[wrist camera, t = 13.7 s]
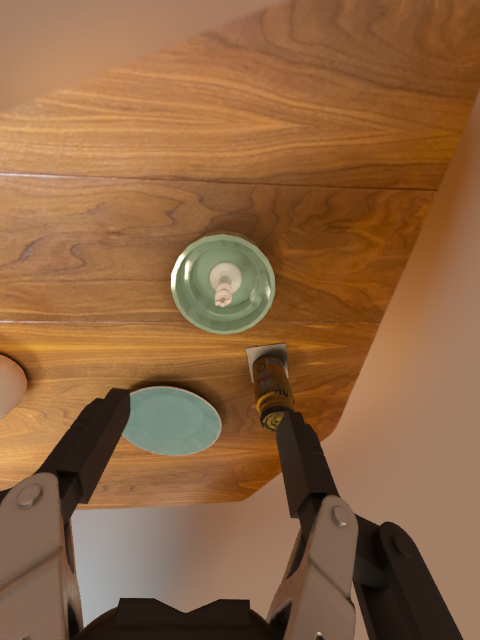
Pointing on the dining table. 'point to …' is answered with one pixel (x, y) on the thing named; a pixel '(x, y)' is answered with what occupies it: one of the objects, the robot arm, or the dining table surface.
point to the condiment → (270, 383)
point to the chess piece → (225, 281)
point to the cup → (10, 385)
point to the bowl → (199, 295)
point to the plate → (171, 421)
